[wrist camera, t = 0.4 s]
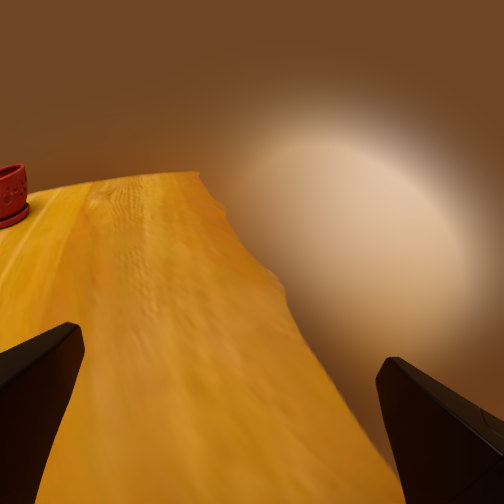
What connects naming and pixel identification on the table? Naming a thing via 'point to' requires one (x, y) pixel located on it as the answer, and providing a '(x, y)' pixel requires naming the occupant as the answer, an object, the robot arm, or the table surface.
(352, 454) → the table surface
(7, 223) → the plant pot
